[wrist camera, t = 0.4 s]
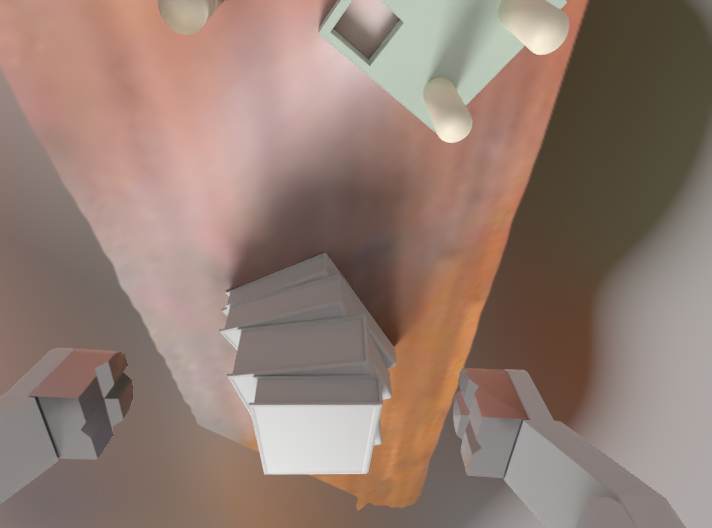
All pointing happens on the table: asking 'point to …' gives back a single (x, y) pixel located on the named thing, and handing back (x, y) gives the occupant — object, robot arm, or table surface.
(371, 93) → the table surface
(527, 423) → the robot arm
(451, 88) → the stool seat
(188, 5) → the loose leg
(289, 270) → the book stack
